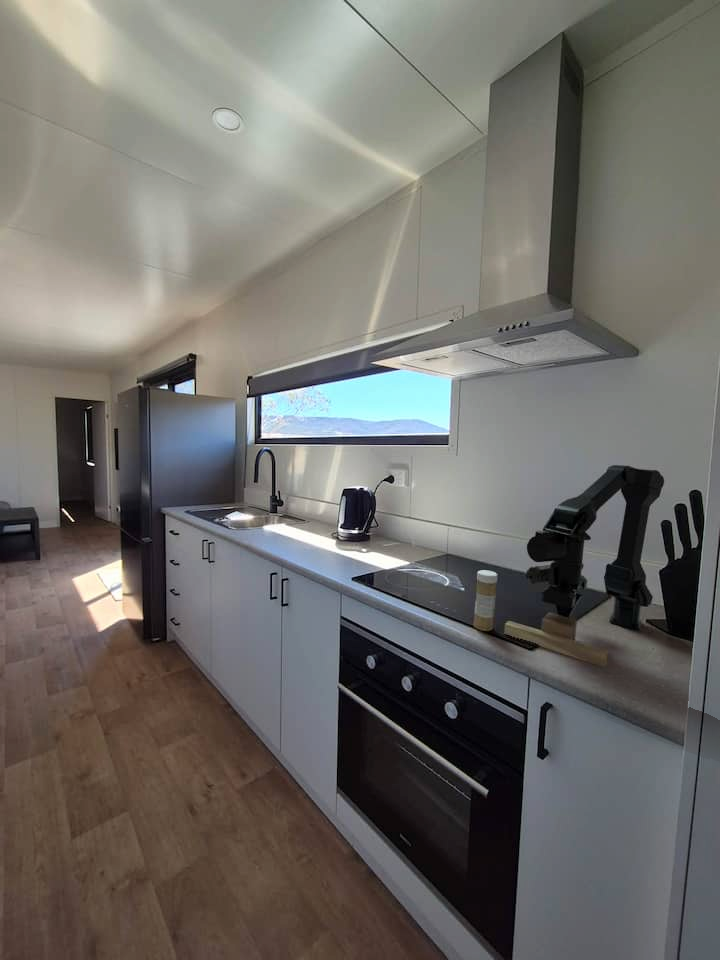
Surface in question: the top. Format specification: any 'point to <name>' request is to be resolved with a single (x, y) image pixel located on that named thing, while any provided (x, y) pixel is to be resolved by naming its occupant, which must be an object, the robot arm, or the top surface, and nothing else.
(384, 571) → the top surface
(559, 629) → the tan wooden block
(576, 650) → the oak board
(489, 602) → the sprinkles bottle
